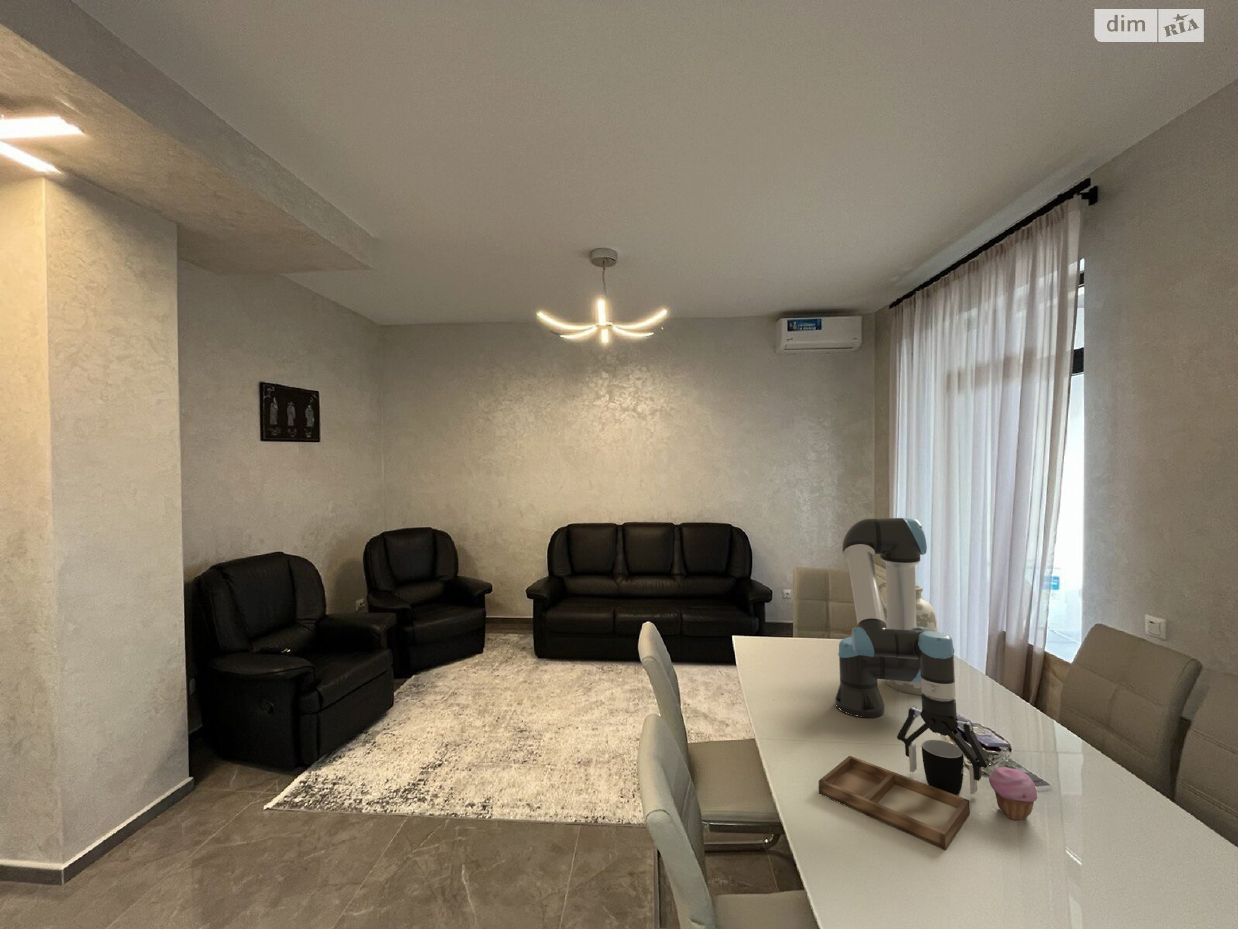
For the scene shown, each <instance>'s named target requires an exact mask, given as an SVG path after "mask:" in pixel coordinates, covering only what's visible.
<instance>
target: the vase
mask: <svg viewBox="0 0 1238 929" xmlns="http://www.w3.org/2000/svg"><path fill="white" fill-rule="evenodd" d="M878 586H879V591H880V596H881V601H882V606H883V611H884V616H885V621H886V627H887V603H885V601H884V598H883V594H882V593H883V592H882V591H883V589H884V588H886V581H884V582H882V583H880V584H878ZM923 591H924V588H923V586H921V585H918V584H916V627H924V628H927V629H928V630H930V631H935V632H939V631H938V625H937V624H938V623H937V616H936V612H935V609H934V608H933V606H932V605H931V603H930V602H929V601H927V600H926V599H925V598H923V597H922V592H923ZM885 682H886V684H887V685H888V684H889V685H890V686H891V687H890V686H889V685H888V686H889V687H890V688H892V689H893V688H895V689H894V690H896V689H897V690H896V691H898V690H899V692H901V691H902V693H904V694H910V695H915V696H921V695H922V694H923V693H922V691H921V682H913V681H912V682H908V681H896V680H885Z"/></svg>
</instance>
